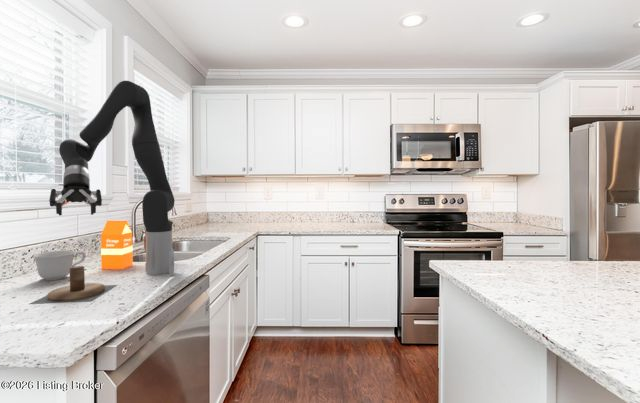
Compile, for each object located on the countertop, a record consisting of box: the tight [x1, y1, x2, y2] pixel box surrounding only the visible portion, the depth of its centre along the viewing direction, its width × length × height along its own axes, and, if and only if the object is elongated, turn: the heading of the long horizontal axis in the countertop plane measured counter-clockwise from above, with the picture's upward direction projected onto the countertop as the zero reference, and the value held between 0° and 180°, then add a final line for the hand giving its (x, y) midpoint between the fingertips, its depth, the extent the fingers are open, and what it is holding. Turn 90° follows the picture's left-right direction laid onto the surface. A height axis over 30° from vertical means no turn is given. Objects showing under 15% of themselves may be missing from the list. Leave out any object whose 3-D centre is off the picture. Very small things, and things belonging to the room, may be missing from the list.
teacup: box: [32, 250, 86, 281], centre depth 116 cm, size 12×15×10 cm
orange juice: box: [100, 220, 134, 270], centre depth 136 cm, size 8×9×20 cm
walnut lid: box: [47, 265, 106, 301], centre depth 97 cm, size 14×14×8 cm
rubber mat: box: [29, 284, 118, 305], centre depth 98 cm, size 16×16×1 cm
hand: (76, 213), depth 106 cm, fingers open, 8 cm apart
